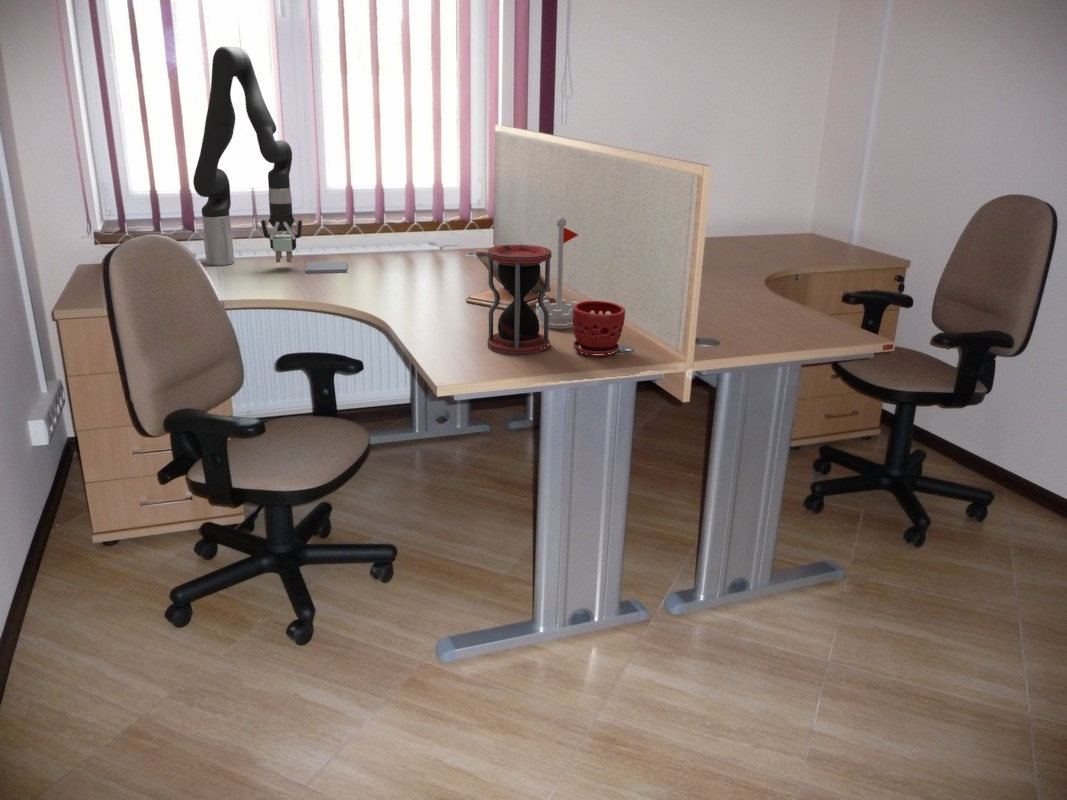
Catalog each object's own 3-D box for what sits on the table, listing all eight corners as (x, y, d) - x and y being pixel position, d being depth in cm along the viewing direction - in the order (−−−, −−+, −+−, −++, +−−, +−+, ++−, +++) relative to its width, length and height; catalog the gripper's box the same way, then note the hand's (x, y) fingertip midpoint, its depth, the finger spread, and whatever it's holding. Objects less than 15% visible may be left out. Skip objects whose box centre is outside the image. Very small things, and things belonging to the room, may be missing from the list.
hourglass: (550, 337, 230) (552, 244, 221) (548, 356, 215) (551, 257, 206) (490, 336, 231) (489, 243, 222) (484, 354, 215) (484, 255, 207)
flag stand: (543, 331, 236) (545, 221, 226) (530, 318, 248) (531, 213, 237) (587, 328, 240) (592, 219, 229) (572, 316, 251) (576, 212, 241)
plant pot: (568, 358, 214) (570, 311, 209) (574, 343, 226) (576, 298, 222) (621, 361, 212) (623, 314, 208) (624, 346, 224) (626, 301, 220)
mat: (305, 273, 298) (305, 270, 298) (307, 265, 311) (307, 261, 311) (346, 272, 301) (346, 269, 301) (347, 264, 314) (347, 261, 313)
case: (553, 299, 271) (554, 248, 265) (516, 313, 254) (516, 259, 249) (501, 290, 281) (500, 241, 276) (461, 303, 265) (460, 251, 259)
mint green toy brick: (274, 262, 298) (272, 239, 295) (276, 257, 306) (275, 234, 303) (292, 262, 299) (290, 239, 296) (294, 257, 307) (292, 234, 304)
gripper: (257, 202, 290) (261, 252, 296) (301, 203, 293) (304, 251, 299) (259, 199, 297) (263, 247, 303) (302, 199, 300) (305, 247, 306)
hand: (283, 249), depth 301 cm, fingers closed on mint green toy brick, 6 cm apart
